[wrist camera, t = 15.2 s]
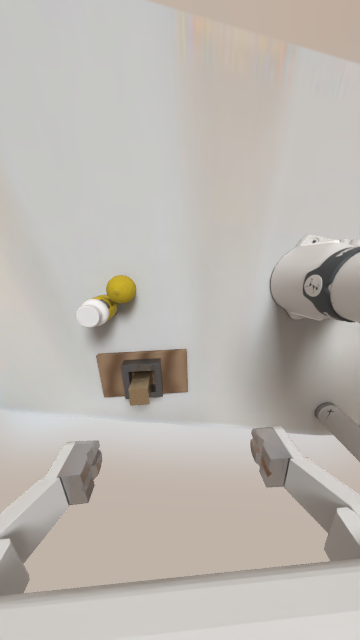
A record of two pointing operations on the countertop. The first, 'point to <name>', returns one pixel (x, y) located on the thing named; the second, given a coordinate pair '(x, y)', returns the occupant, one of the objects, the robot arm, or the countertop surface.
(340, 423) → the travel mug
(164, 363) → the dock board
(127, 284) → the lemon
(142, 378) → the square bar
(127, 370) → the collar
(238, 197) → the countertop surface
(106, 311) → the supplement bottle
